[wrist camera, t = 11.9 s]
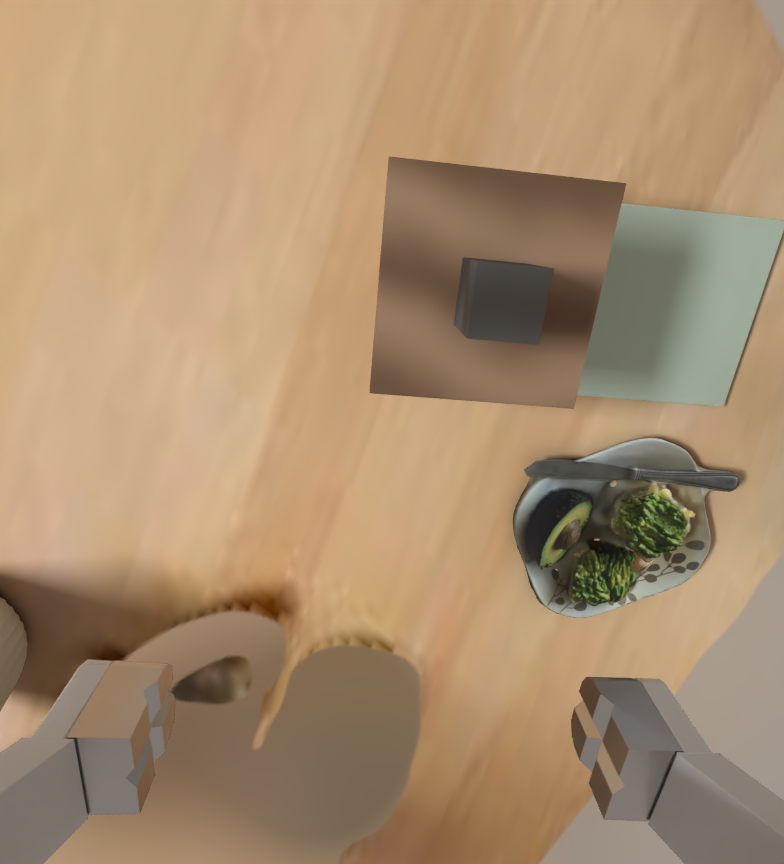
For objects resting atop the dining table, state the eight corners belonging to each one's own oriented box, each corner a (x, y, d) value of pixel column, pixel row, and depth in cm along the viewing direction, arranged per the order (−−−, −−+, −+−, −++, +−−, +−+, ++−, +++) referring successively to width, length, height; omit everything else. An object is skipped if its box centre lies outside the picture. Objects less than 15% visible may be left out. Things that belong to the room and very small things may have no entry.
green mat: (594, 201, 36) (598, 200, 35) (780, 221, 37) (786, 220, 37) (553, 391, 41) (556, 393, 40) (718, 404, 42) (723, 406, 42)
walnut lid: (388, 159, 26) (393, 142, 21) (618, 184, 26) (669, 175, 22) (369, 389, 30) (370, 416, 25) (568, 404, 31) (602, 433, 26)
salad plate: (714, 387, 42) (753, 404, 38) (738, 556, 48) (774, 588, 44) (489, 466, 44) (503, 492, 39) (541, 620, 50) (557, 657, 46)
